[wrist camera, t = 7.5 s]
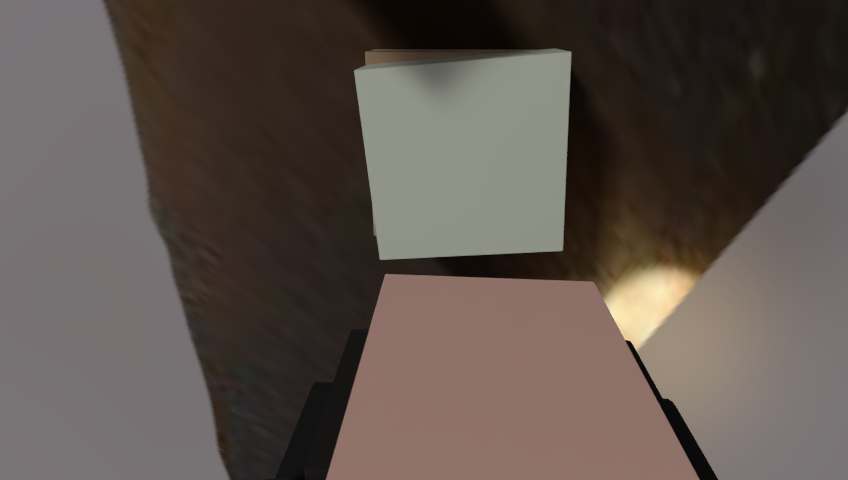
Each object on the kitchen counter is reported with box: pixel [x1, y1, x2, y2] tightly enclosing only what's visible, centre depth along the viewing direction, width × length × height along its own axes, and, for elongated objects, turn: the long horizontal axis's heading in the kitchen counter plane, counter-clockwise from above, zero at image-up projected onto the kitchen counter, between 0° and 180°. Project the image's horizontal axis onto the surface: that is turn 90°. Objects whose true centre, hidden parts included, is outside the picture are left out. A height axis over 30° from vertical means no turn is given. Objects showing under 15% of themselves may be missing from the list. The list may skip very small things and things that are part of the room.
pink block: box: [326, 274, 699, 480], centre depth 10 cm, size 5×5×6 cm
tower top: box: [354, 49, 571, 260], centre depth 30 cm, size 12×12×4 cm
